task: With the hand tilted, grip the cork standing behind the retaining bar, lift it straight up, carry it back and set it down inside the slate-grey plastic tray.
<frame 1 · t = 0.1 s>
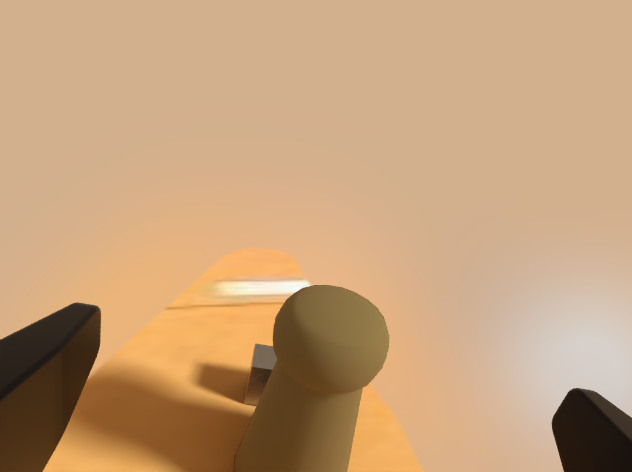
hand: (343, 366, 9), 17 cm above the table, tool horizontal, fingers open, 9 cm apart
retaining bar: (293, 398, 30), on the table
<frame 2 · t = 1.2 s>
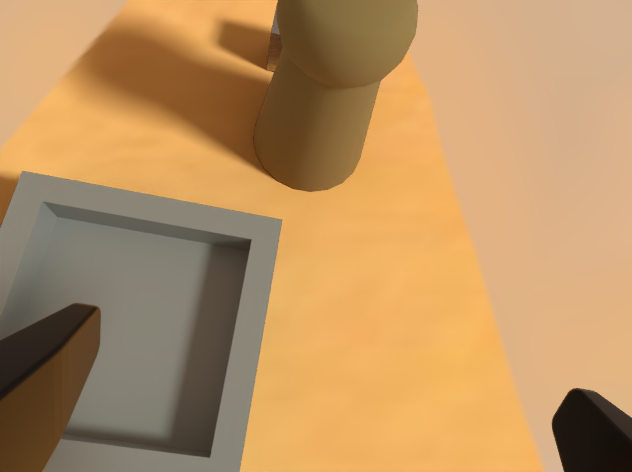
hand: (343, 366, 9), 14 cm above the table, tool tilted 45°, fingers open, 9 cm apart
retaining bar: (320, 67, 28), on the table
tray: (133, 330, 22), on the table
cork: (307, 143, 26), on the table
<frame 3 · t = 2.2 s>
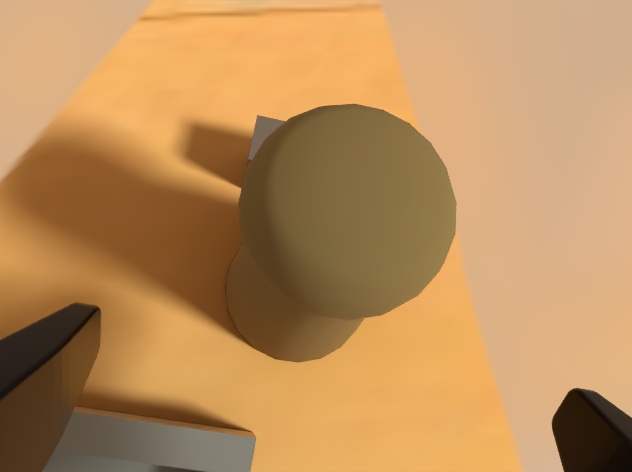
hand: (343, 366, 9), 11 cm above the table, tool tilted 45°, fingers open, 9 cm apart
retaining bar: (314, 183, 22), on the table
cork: (296, 290, 20), on the table
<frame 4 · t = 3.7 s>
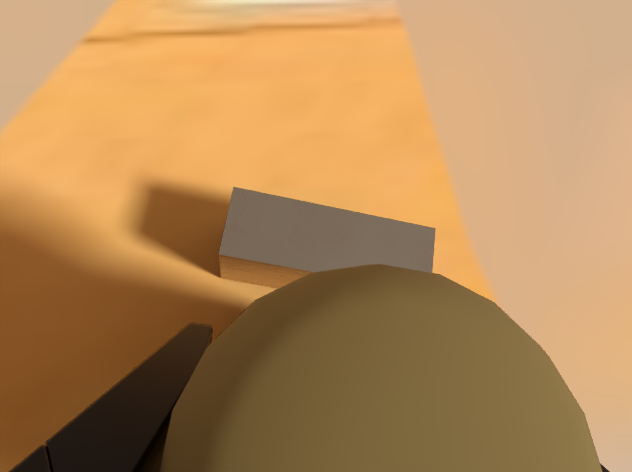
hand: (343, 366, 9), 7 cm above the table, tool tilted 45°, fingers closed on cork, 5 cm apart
retaining bar: (314, 265, 16), on the table
cork: (289, 420, 15), on the table, touching gripper
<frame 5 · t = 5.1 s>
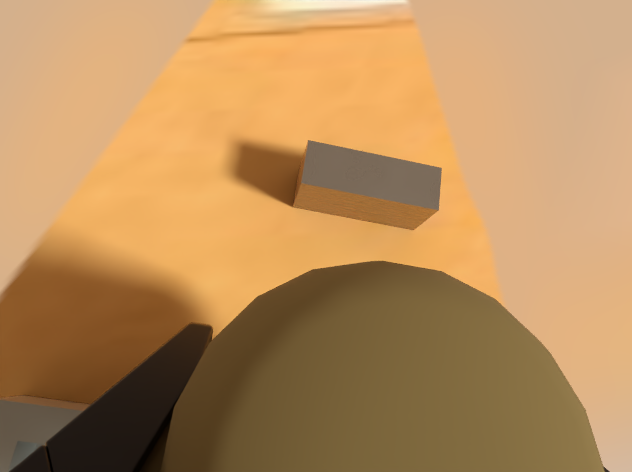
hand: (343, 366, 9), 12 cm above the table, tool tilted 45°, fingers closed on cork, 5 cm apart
retaining bar: (356, 199, 23), on the table
cork: (290, 418, 15), point 5 cm above the table, touching gripper
when the fingers open (8 cm above the table, at t = 7.0 s): cork stays where it is, resting on tray.
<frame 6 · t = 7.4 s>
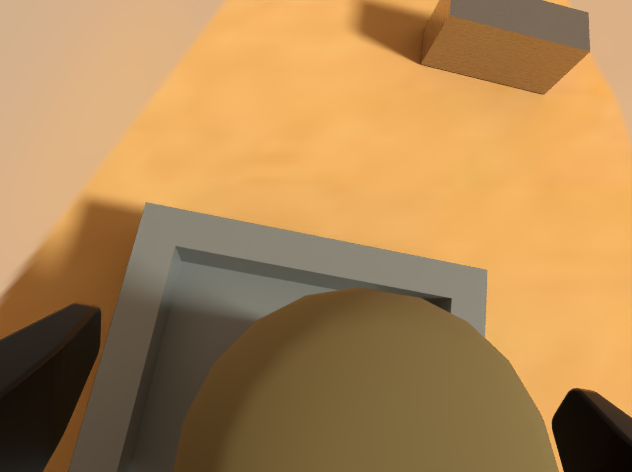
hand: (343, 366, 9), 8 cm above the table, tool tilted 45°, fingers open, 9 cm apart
retaining bar: (484, 61, 22), on the table
tray: (285, 417, 16), on the table
cork: (288, 423, 16), resting on tray
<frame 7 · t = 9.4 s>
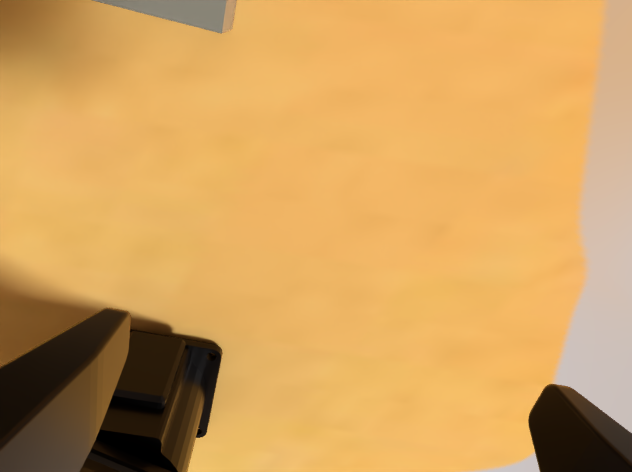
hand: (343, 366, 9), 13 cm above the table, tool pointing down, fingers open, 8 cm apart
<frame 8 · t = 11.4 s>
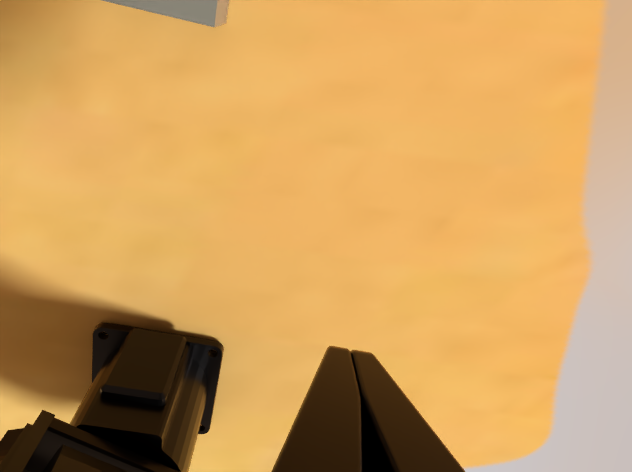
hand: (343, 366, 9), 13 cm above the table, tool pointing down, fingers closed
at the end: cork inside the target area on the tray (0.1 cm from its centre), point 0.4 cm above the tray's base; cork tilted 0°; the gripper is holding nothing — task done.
